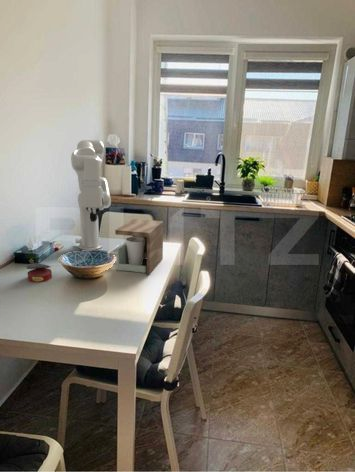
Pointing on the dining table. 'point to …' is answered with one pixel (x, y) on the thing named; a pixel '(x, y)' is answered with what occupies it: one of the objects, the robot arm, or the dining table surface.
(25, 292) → the dining table surface
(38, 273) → the canned food
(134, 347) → the dining table surface
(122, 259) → the pull out rack
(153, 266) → the counter shelf
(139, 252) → the foam cup
